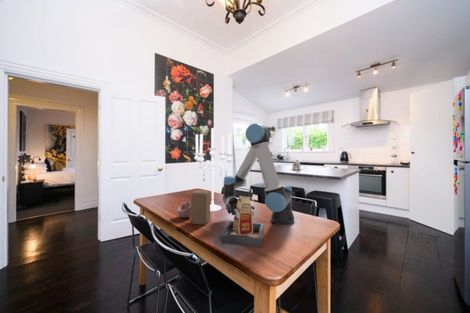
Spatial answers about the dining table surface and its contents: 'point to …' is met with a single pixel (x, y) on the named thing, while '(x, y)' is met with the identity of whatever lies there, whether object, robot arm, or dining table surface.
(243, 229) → the milk carton
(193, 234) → the dining table surface
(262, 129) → the robot arm
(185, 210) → the mortar and pestle
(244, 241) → the carton holder
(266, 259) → the dining table surface
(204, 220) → the wooden block
